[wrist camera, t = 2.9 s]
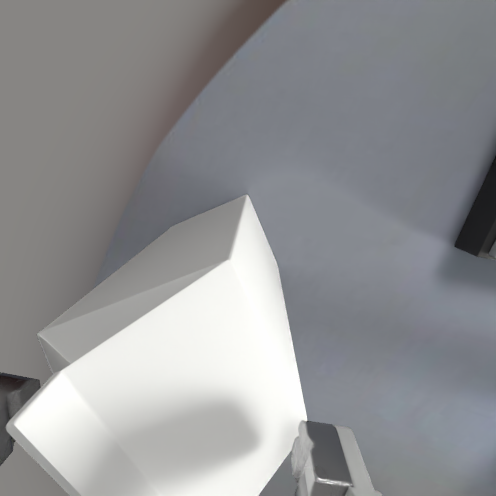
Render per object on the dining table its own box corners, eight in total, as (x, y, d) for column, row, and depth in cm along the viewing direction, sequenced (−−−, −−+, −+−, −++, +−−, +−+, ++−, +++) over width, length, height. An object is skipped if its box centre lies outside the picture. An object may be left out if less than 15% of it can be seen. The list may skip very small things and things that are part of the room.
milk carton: (248, 193, 22) (203, 360, 4) (278, 266, 24) (345, 604, 6) (173, 224, 23) (-144, 473, 5) (208, 292, 25) (79, 643, 7)
